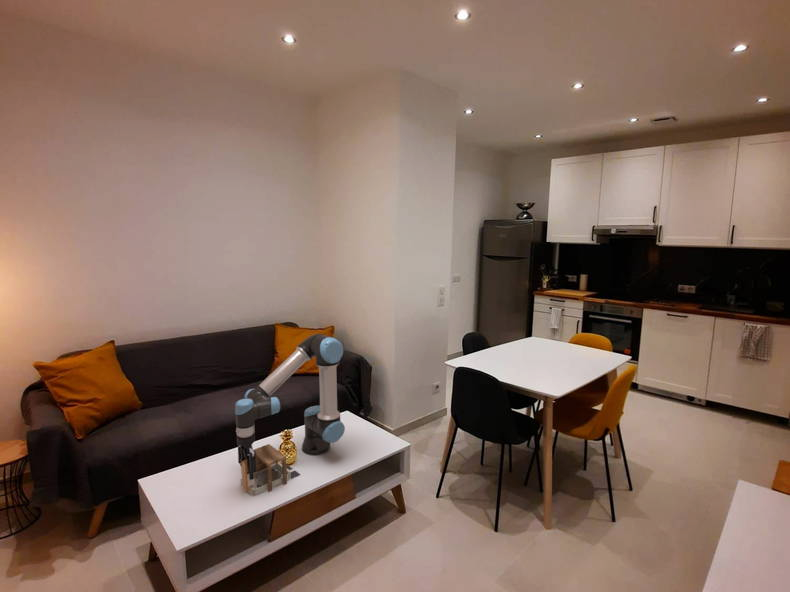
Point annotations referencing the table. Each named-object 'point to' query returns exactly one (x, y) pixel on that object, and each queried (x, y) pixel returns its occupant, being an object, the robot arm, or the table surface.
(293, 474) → the pits
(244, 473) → the sled
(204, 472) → the table surface
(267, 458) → the tunnel
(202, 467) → the table surface
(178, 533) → the table surface
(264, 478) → the fossilized seashell
